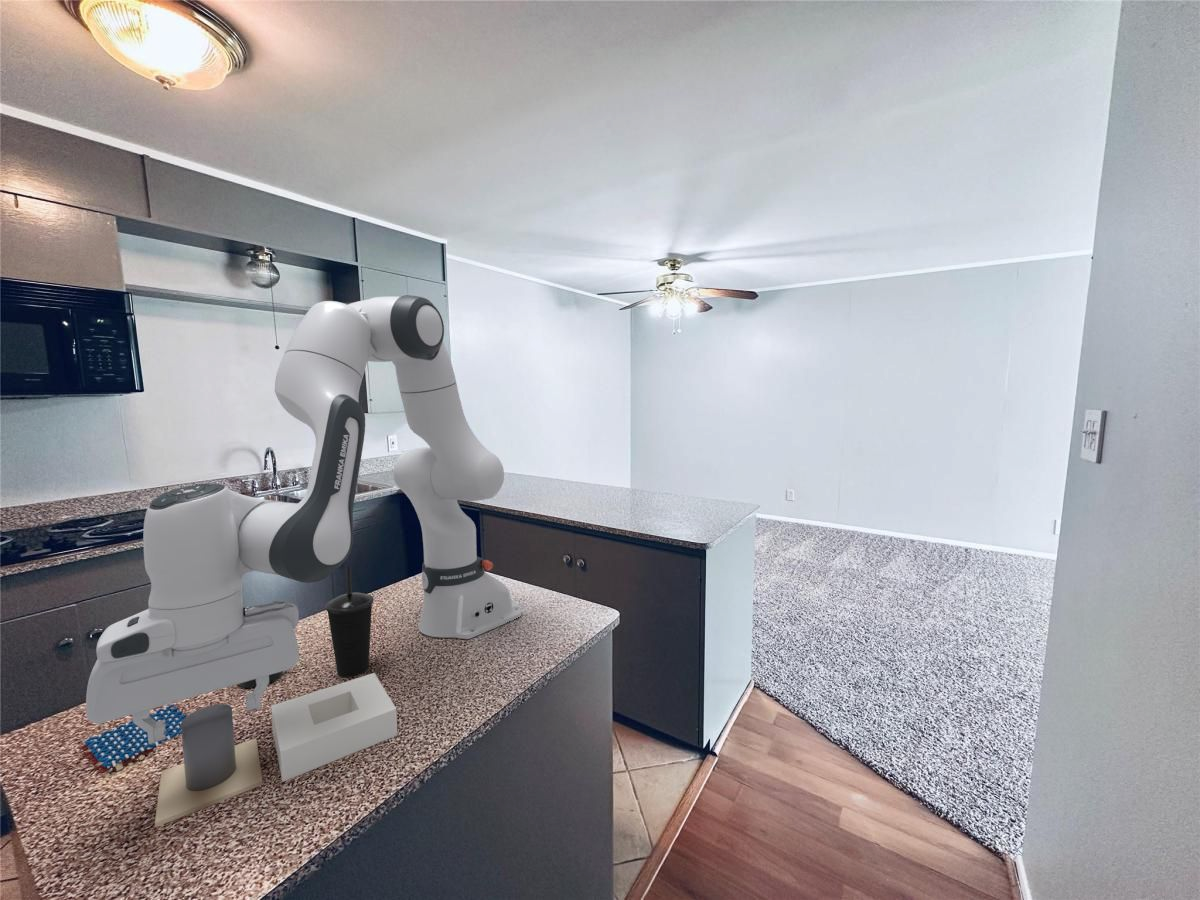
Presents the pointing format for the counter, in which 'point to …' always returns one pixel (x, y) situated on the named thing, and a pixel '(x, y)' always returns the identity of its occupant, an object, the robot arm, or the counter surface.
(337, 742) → the block
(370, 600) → the drinking cup
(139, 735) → the woven mat
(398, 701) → the counter surface
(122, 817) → the counter surface
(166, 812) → the pad
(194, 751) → the grey cylinder
